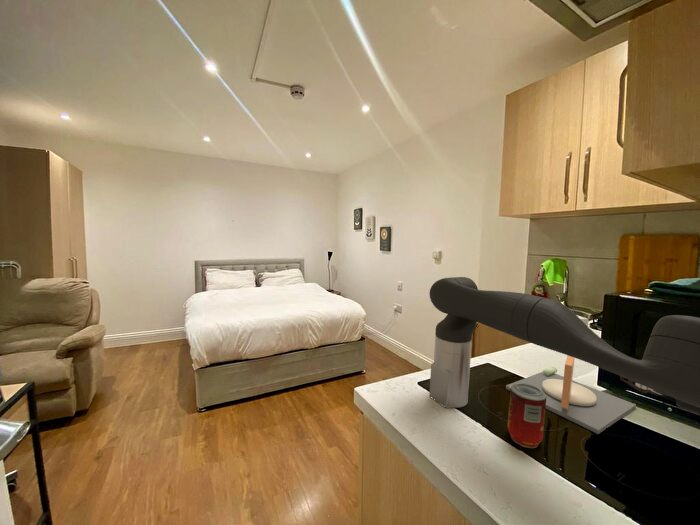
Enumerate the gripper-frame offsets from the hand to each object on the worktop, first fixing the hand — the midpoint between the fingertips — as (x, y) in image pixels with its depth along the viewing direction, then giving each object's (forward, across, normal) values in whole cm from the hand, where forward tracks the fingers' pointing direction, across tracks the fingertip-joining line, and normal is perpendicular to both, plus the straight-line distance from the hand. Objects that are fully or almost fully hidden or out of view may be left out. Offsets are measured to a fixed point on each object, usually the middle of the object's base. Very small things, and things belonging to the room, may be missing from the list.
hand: (601, 363), depth 68 cm
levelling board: (+9, -8, +15) cm, 20 cm away
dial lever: (+8, -5, +14) cm, 17 cm away
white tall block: (+30, -56, +15) cm, 65 cm away
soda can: (+5, +20, +16) cm, 26 cm away
